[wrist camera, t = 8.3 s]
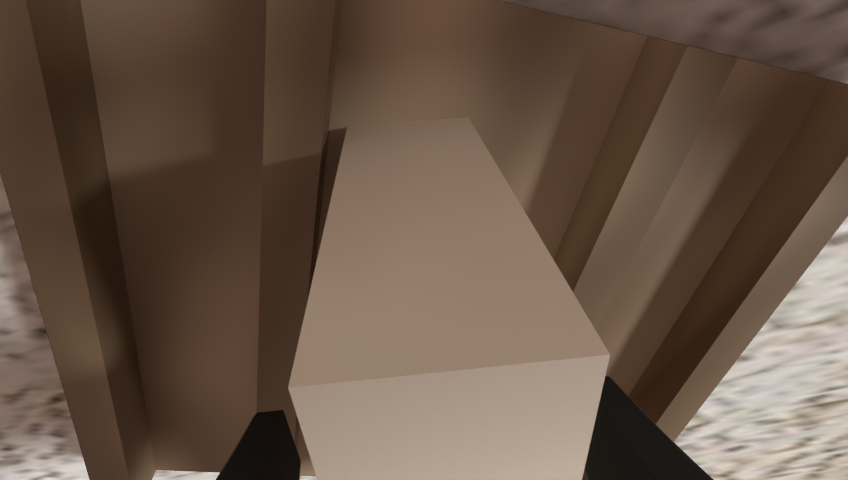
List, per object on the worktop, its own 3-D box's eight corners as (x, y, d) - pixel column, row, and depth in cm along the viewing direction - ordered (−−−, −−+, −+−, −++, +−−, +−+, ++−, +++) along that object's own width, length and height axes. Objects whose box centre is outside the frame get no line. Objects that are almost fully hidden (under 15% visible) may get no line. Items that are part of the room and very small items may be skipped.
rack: (845, 83, 13) (953, 109, 10) (595, 463, 21) (622, 524, 19) (0, -118, 9) (-138, -152, 7) (120, 439, 18) (80, 511, 15)
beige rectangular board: (468, 117, 11) (609, 354, 4) (469, 424, 17) (527, 721, 10) (346, 127, 11) (288, 388, 4) (392, 433, 17) (399, 739, 10)
